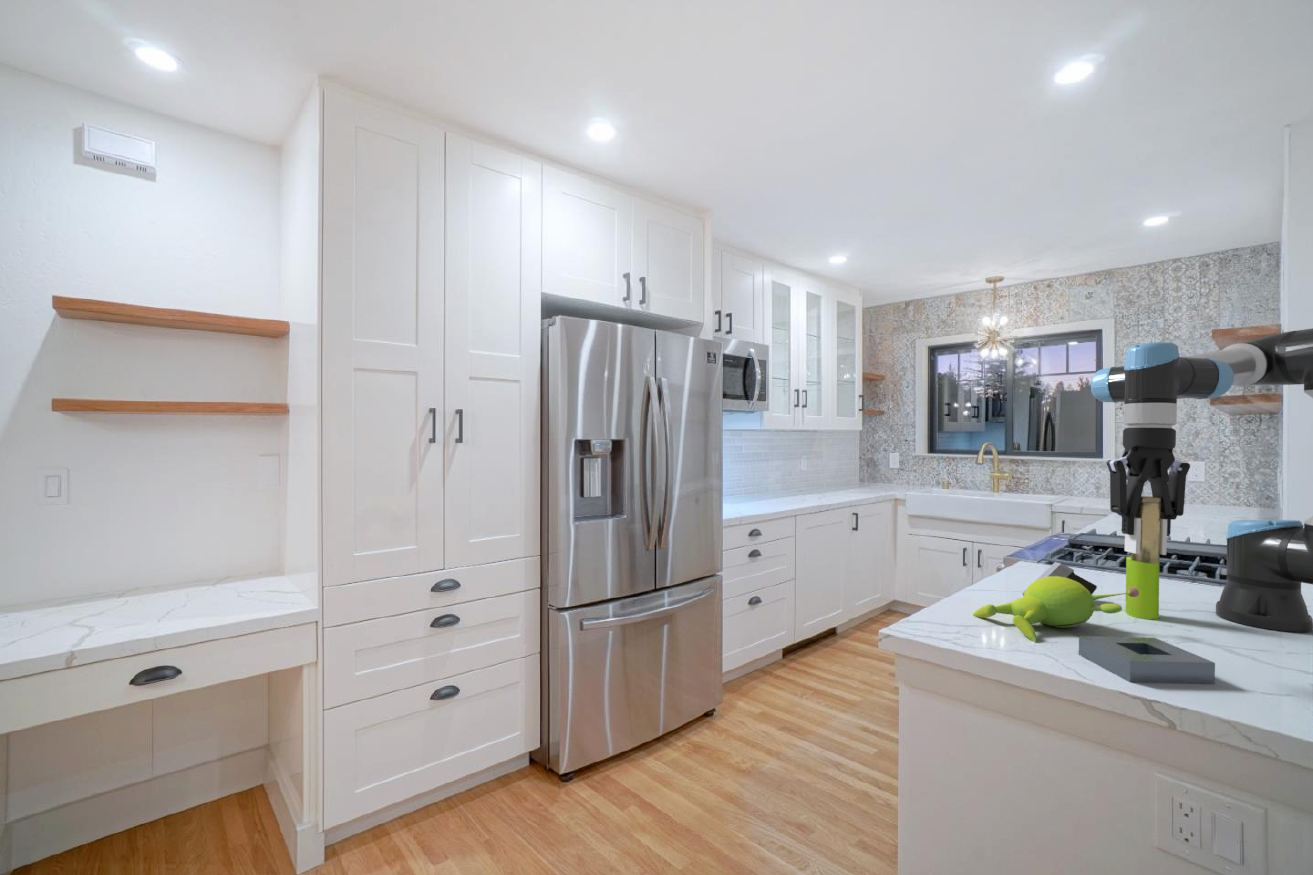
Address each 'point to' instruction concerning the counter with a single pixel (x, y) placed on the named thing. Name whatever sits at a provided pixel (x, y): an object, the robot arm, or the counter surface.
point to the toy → (1052, 605)
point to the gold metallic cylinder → (1149, 530)
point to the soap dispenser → (1142, 589)
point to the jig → (1146, 660)
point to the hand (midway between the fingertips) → (1145, 552)
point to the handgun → (1067, 576)
